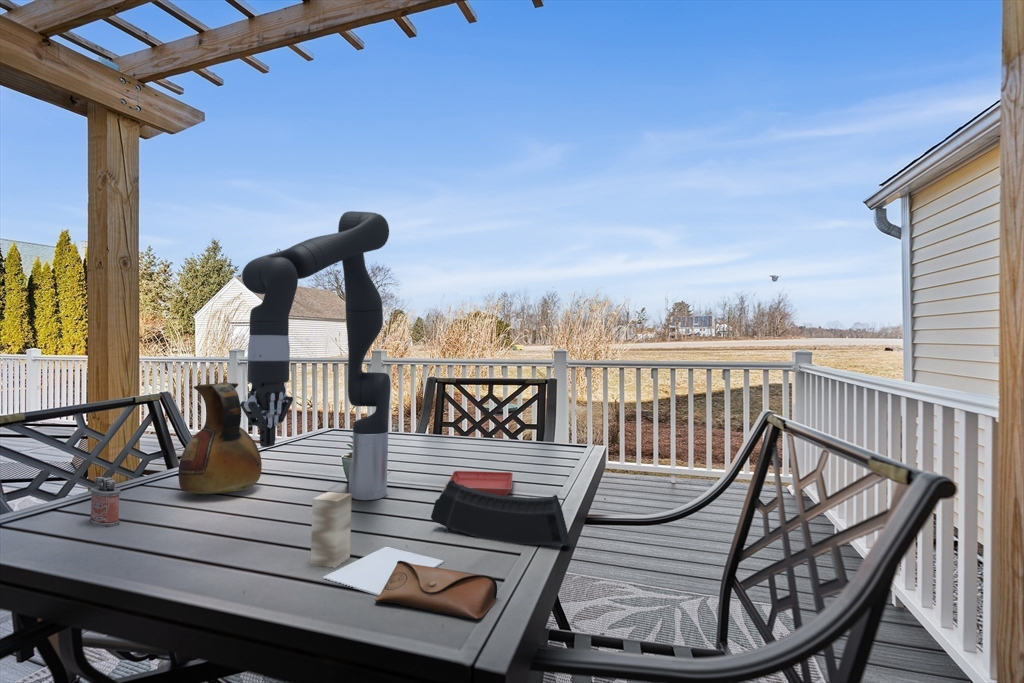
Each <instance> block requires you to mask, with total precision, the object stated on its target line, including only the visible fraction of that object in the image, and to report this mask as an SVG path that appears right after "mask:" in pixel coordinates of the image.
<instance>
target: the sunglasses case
mask: <svg viewBox="0 0 1024 683" xmlns="http://www.w3.org/2000/svg"><path fill="white" fill-rule="evenodd" d="M497 595H498V583H497V580H496V579H495V578H494V577H493V576H490V575H486V574H473V573H467V572H463V571H456V570H452V569H447V568H441V567H436V568H435V567H429V566H422V565H415V564H411V563H408V562H405V561H398V562H397V565H396V567H395V569H394V570H393V572H392V574H391V576H390V577H389V579H388V581H387V583H386V585H385V587H384V588H383V590H382V592H381V594H380V595H379V596H378V595H377V597H375V598H374V601H375V602H378V603H379V602H380V603H390V604H396V605H400V606H405V607H409V608H410V607H411V608H415V609H419V610H425V611H428V612H433V613H437V614H440V615H446V616H451V617H458V618H464V619H473V620H474V619H475V620H480V619H482V618H483V617H484V616H486V615H487V613H488V612H489V611H490V610H491V609H492V607H493V605H495V603H496V600H497Z"/></svg>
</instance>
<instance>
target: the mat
mask: <svg viewBox="0 0 1024 683" xmlns="http://www.w3.org/2000/svg"><path fill="white" fill-rule="evenodd" d="M398 561H405V562H408V563H411V564H415V565H422V566H429V567H436V568H438V567H439V566H440V564H441V565H442V564H444V563H445V560H442V559H438V558H435V557H431V556H426V555H421V554H419V553H414V552H410V551H406V550H401V549H397V548H393V547H389V546H384V547H381V548H380V549H377V550H376V551H374V552H372V553H369V554H367V555H365V556H363V557H361V558H360V559H359V558H358V559H357V560H355V561H353V562H351V563H349V564H346V565H345V566H342V567H340V568H338V569H337V570H334V571H332V572H330V573H328V574H326V575H324V576H322V579H323V580H325V579H327V580H326V581H328V580H330V581H329V582H332V581H333V583H335V582H337V583H336V584H338V583H341V584H340V585H342V584H344V585H343V586H345V585H347V586H346V587H348V586H350V587H349V588H351V587H353V588H352V589H355V590H359V591H361V592H365V593H369V594H371V595H375V596H377V597H378V596H379V595H380V594H381V592H382V590H383V588H384V587H385V585H386V583H387V581H388V579H389V577H390V576H391V574H392V572H393V570H394V569H395V567H396V565H397V562H398Z"/></svg>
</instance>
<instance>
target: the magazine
mask: <svg viewBox="0 0 1024 683" xmlns="http://www.w3.org/2000/svg"><path fill="white" fill-rule="evenodd" d="M449 480H450V479H449ZM449 480H448V482H447V483H448V484H447V483H445V485H444V487H443V489H442V491H441V494H440V495H439V497H438V498H436V500H434V501H435V502H434V506H433V508H432V511H431V514H430V519H431V520H432V522H435V523H437V524H439V525H441V526H444V527H445V528H446V531H448V532H450V531H452V530H453V531H455V532H459V533H462V534H464V535H465V534H466V535H468V536H469V535H470V536H471V537H476V538H480V539H483V540H486V541H487V540H489V541H495V542H501V543H506V544H507V543H508V544H516V545H527V546H528V545H529V546H531V545H533V546H535V545H536V546H541V545H543V546H545V545H546V546H550V545H552V546H553V545H554V546H557V545H558V546H567V545H569V543H570V535H569V532H568V528H567V524H566V520H565V517H564V512H563V508H562V505H561V503H560V501H559V497H558V495H557V494H555V495H552V496H547V497H524V496H523V497H522V496H512V495H511V496H508V495H506V496H502V495H496V494H491V493H486V492H482V491H478V490H474V489H471V488H468V487H465V486H464V485H459V484H456V483H455V482H454V480H450V481H449ZM449 530H450V531H449Z"/></svg>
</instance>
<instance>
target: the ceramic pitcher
mask: <svg viewBox="0 0 1024 683" xmlns="http://www.w3.org/2000/svg"><path fill="white" fill-rule="evenodd" d="M238 386H239V383H238V382H222V381H220V382H219V383H206V384H205V383H204V384H197V385H194V386H193V389H194V390H196V391H197V392H198V393H199V394H200V396H201V397H202V399H203V401H204V405H205V412H206V413H205V423H204V426H203V427H202V428H201V429H200V430H199V431H198V432H196V433H195V434H194V435H193V436H192V437H191V439H189V441H188V443H187V444H186V446H185V448H184V450H183V451H182V453H181V457H180V459H179V465H178V472H177V473H178V476H177V477H178V484H179V488H180V489H181V490H182V491H184V492H186V493H189V494H198V495H215V494H225V493H226V494H227V493H233V492H241V491H244V490H246V491H247V490H249V489H250V488H252V487H253V486H255V484H256V483H258V481H260V478H261V476H262V465H263V464H262V457H261V453H260V450H259V448H258V445H257V444H256V441H255V440H254V438H252V437H251V435H250V434H249V433H248V432H247V431H246V430H245V429H243V428H242V427H241V422H242V408H241V406H240V404H241V401H240V397H239V393H238V391H237V390H236V388H237V387H238Z"/></svg>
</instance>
